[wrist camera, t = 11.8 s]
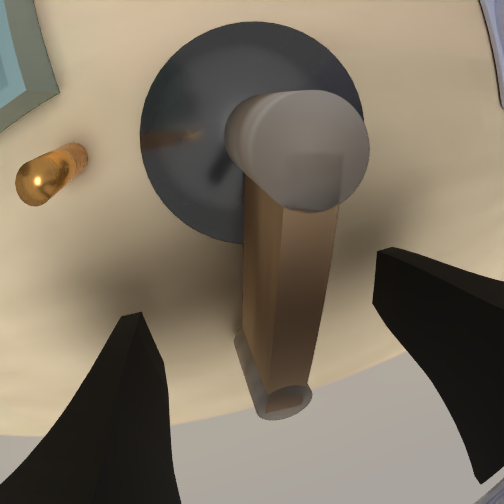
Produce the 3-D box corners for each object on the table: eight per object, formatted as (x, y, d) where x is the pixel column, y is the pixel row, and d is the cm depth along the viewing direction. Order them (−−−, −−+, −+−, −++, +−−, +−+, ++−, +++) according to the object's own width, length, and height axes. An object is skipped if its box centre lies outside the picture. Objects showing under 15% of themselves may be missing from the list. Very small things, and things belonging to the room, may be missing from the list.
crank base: (327, 10, 8) (381, -13, 5) (372, 197, 11) (425, 228, 8) (36, 110, 7) (-14, 115, 4) (128, 296, 10) (121, 356, 8)
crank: (225, 92, 8) (256, 84, 5) (308, 97, 8) (373, 99, 5) (226, 359, 12) (245, 426, 9) (285, 350, 12) (315, 410, 9)
